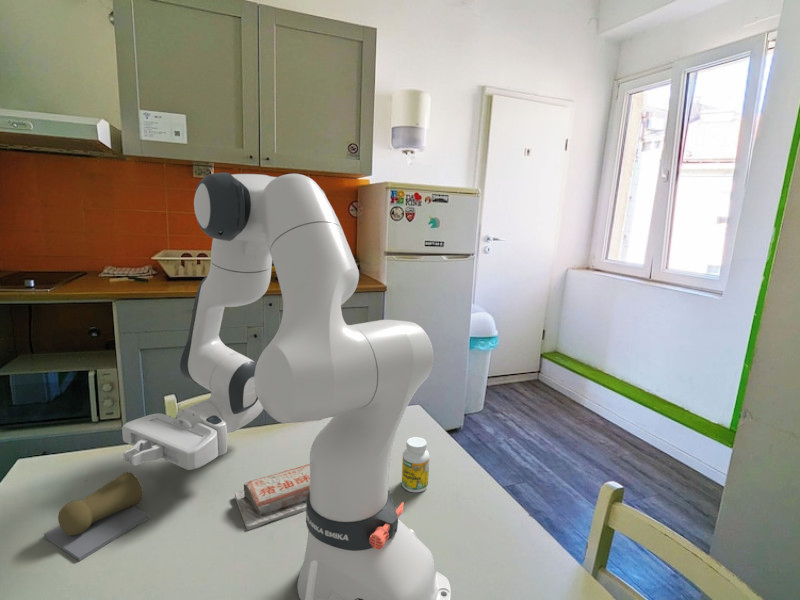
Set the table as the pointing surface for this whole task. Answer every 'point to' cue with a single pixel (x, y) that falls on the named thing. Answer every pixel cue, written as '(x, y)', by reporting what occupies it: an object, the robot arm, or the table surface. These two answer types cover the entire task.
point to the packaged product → (274, 496)
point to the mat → (97, 533)
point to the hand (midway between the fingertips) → (128, 459)
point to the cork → (100, 504)
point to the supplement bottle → (415, 465)
